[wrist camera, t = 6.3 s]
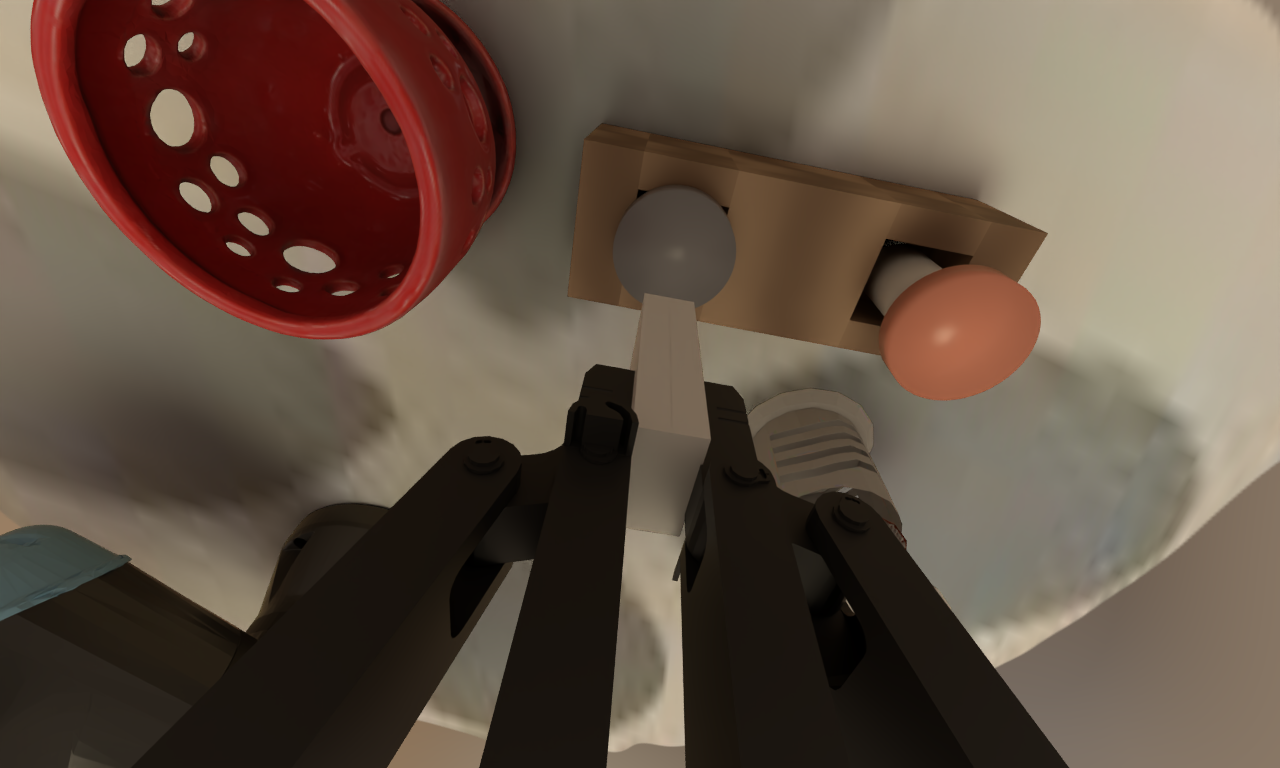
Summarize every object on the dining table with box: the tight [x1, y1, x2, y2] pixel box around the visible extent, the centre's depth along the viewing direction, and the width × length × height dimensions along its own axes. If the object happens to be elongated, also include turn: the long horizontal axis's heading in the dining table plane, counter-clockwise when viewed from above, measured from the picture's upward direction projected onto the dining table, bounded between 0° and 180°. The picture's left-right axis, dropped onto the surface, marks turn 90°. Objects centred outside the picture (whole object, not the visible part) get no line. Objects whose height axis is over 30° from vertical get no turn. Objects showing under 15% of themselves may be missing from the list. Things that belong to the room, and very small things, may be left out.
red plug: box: [863, 244, 1041, 400], centre depth 22 cm, size 5×5×7 cm
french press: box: [747, 388, 951, 611], centre depth 26 cm, size 10×12×25 cm
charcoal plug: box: [613, 185, 736, 308], centre depth 24 cm, size 5×5×7 cm
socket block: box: [568, 123, 1048, 355], centre depth 26 cm, size 20×7×6 cm, turn 80°
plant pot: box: [31, 0, 516, 339], centre depth 21 cm, size 13×13×12 cm
